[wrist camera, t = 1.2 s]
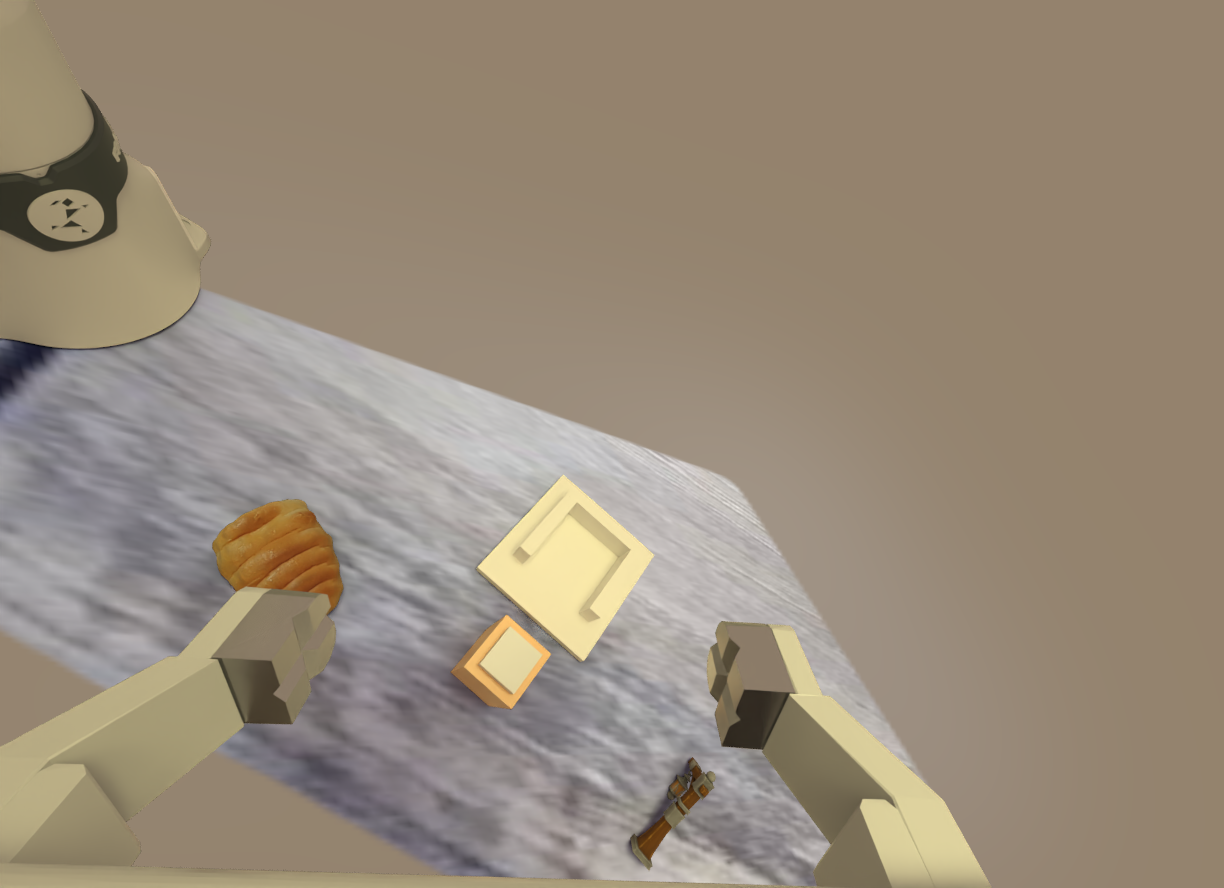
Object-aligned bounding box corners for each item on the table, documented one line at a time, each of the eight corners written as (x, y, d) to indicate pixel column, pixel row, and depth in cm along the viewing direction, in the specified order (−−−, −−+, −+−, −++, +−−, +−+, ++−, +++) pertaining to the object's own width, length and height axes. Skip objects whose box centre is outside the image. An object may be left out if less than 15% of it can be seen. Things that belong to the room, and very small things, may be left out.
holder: (475, 569, 41) (482, 558, 38) (560, 478, 48) (572, 462, 45) (579, 661, 41) (595, 659, 38) (649, 557, 48) (668, 547, 45)
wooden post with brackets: (709, 760, 41) (725, 788, 37) (641, 835, 40) (649, 873, 35) (694, 743, 41) (709, 769, 37) (626, 817, 40) (633, 853, 35)
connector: (450, 672, 37) (465, 665, 29) (486, 629, 40) (509, 612, 31) (488, 706, 37) (514, 709, 29) (522, 661, 40) (555, 653, 31)
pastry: (369, 589, 38) (366, 579, 35) (279, 651, 34) (267, 648, 31) (300, 497, 39) (291, 481, 36) (206, 549, 35) (187, 535, 32)
